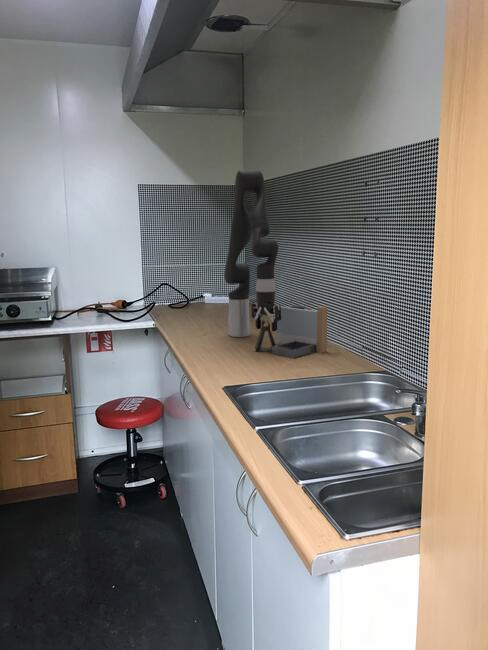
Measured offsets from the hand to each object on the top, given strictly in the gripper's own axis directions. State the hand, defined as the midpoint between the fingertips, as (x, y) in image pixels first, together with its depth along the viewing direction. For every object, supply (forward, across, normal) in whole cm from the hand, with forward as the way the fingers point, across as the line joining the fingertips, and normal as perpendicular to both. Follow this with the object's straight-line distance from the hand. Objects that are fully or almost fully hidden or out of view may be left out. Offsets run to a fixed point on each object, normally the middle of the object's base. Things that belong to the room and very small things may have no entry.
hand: (266, 329), depth 214 cm
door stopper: (+9, 0, 0) cm, 9 cm away
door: (+8, +8, +12) cm, 17 cm away
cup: (+8, -2, +22) cm, 24 cm away
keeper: (+8, +12, +4) cm, 15 cm away
